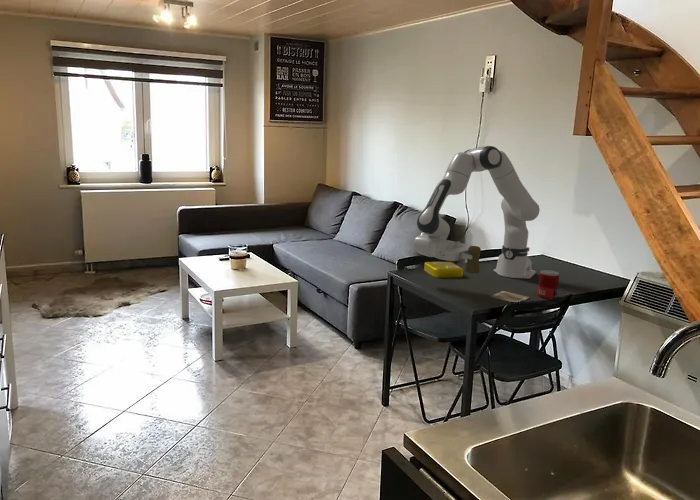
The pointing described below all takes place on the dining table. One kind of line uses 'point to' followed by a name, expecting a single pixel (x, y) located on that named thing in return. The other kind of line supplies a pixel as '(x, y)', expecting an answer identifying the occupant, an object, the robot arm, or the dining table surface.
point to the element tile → (443, 269)
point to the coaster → (509, 297)
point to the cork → (473, 260)
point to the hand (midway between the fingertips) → (475, 256)
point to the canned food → (548, 284)
